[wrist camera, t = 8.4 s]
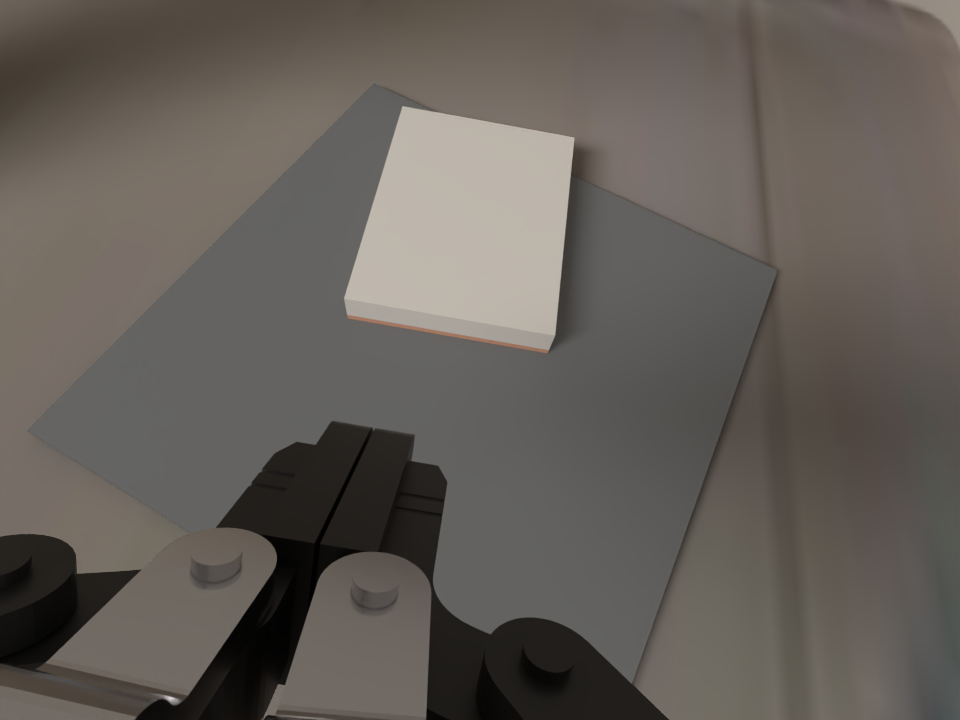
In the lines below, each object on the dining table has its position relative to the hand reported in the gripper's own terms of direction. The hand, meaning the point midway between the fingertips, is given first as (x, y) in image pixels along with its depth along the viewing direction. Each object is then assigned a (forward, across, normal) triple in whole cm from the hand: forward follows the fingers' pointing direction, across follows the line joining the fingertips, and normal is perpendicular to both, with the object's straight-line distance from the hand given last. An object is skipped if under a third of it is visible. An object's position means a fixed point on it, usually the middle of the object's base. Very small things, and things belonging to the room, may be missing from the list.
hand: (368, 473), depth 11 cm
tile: (+15, 0, +1) cm, 15 cm away
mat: (+16, -1, +2) cm, 16 cm away
